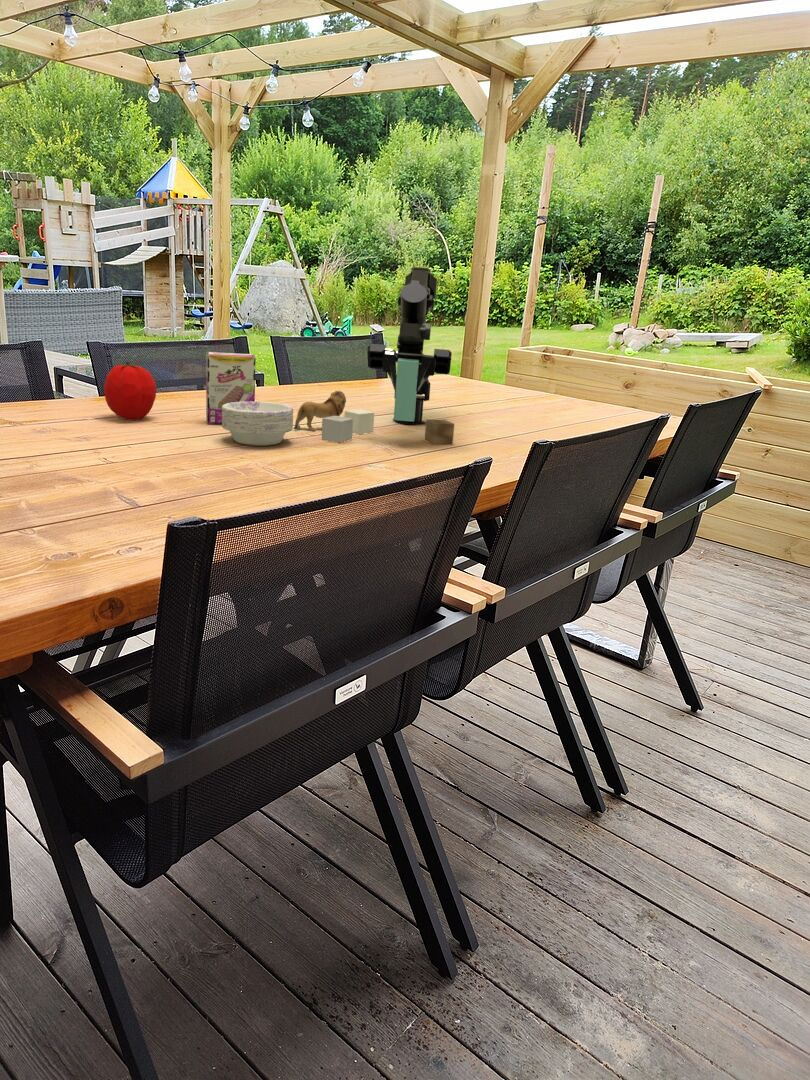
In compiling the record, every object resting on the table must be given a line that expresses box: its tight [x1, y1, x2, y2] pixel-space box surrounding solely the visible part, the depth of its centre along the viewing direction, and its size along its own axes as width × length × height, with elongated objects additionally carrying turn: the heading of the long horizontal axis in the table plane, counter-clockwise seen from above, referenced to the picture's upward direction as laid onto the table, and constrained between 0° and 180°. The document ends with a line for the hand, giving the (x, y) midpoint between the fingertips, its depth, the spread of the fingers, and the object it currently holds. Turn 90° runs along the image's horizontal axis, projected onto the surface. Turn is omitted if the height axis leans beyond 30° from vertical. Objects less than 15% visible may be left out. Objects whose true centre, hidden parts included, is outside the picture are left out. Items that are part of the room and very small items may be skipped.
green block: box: [393, 358, 419, 422], centre depth 170 cm, size 4×4×13 cm
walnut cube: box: [424, 419, 455, 446], centre depth 181 cm, size 5×5×5 cm
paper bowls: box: [221, 401, 294, 447], centre depth 167 cm, size 15×15×8 cm
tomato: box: [103, 361, 158, 421], centre depth 179 cm, size 12×12×13 cm
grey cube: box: [321, 415, 353, 444], centre depth 175 cm, size 5×5×5 cm
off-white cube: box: [344, 408, 375, 435], centre depth 185 cm, size 5×5×5 cm
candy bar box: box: [205, 351, 256, 425], centre depth 182 cm, size 11×5×16 cm, turn 108°
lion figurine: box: [293, 390, 347, 432], centre depth 185 cm, size 15×5×9 cm, turn 132°
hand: (406, 389), depth 169 cm, fingers closed on green block, 4 cm apart
